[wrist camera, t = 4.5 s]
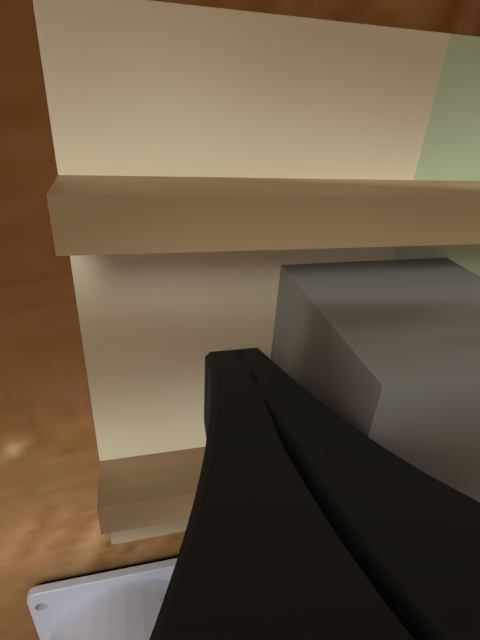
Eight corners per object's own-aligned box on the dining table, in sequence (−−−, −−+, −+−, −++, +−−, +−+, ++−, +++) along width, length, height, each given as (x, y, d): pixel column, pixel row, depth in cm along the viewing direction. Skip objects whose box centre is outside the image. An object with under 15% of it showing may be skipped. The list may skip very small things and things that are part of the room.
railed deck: (572, 403, 21) (671, 476, 17) (113, 469, 16) (111, 593, 12) (761, 81, 14) (994, 85, 10) (55, 10, 9) (9, -33, 5)
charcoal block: (403, 393, 13) (518, 523, 9) (264, 412, 12) (331, 567, 8) (446, 257, 11) (620, 356, 7) (280, 264, 10) (382, 386, 6)
